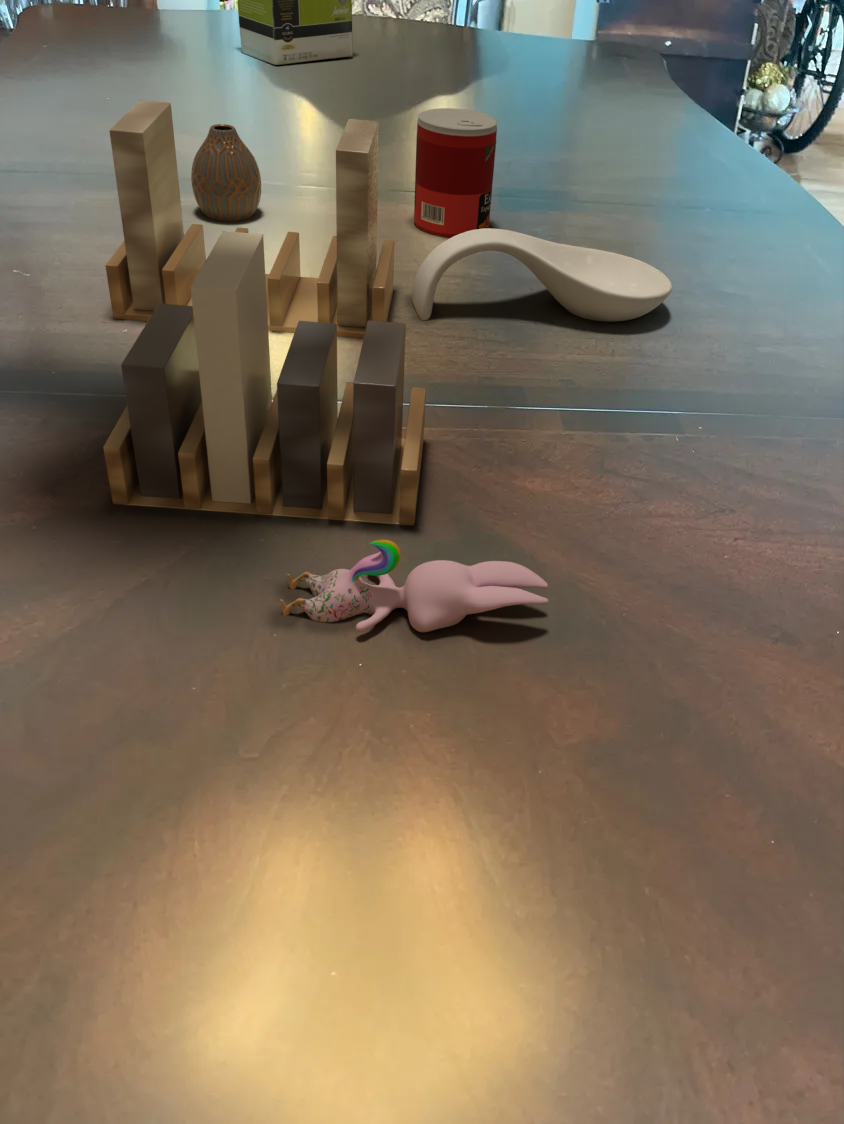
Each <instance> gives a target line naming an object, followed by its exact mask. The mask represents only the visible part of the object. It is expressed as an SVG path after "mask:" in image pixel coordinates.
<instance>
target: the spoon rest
mask: <svg viewBox="0 0 844 1124" xmlns="http://www.w3.org/2000/svg"><path fill="white" fill-rule="evenodd" d="M489 251H490V252H491V251H492V252H500V253H504V254H507V255H510V256H512V257H513V258H515V259H517V260H518V261H519V262H521V263H522V264H523V265H524V266H525V267H527V269H528V270H529V271H530V272H531V273H532V274H533V275H534V276H535V277H536V278H537V280H538V281H539V282H540V283H541V284H542V285H543V286H544V287H545V288H546V290H547V292H549V294H551V296H553V298H554V299H555V301H557V302H558V303H559V304H560V305H561V307H563V308H565V310H566V311H568V312H569V313H570V314H573V315H574V316H576V317H579V318H583V319H586V320H590V321H598V322H605V323H608V322H609V323H614V322H616V323H617V322H625V321H630V320H634V319H637V318H640V317H642V316H645V315H646V314H648V313H650V312H652V311H653V310H654V309H656V308H657V307H658V306H660V305H661V304H662V303H663V302H664V301H665V300H666V299H667V298H668V297H670V294H671V293H672V291H673V286H672V282H671V280H670V279H669V278H668V276H666V275H665V273H664V272H662V271H661V270H659V269H658V268H656V267H655V266H653V265H650V264H649V263H646V262H644V261H642V260H640V259H637V258H633V257H632V256H631V257H630V256H628V255H624V254H620V253H617V252H612V251H608V250H607V251H606V250H601V249H597V248H591V247H584V246H576V245H570V244H565V243H559V242H555V241H550V240H548V239H543V238H540V237H537V236H534V235H530V234H526V233H521V232H518V231H514V230H509V229H502V228H492V227H491V228H490V227H488V228H485V229H476V230H471V231H467V232H464V233H461V234H458V235H456V236H454V237H452V238H451V237H449V238H447V239H446V240H445V241H442V242H441V243H439V244H438V245H437V246H436V247H435V248H434V249H433V250H431V252H429V254H428V255H427V256H426V258H425V259H424V260H423V261H422V263H421V265H420V266H419V268H418V270H417V273H416V275H415V278H414V281H413V284H412V291H411V303H412V304H413V307H414V310H415V313H416V314H417V316H418V318H419V319H420V320H421V321H427V320H428V321H429V319H430V318H431V315H432V311H433V304H434V299H435V294H436V289H437V287H438V284H439V282H440V280H441V279H442V276H443V275H444V274H445V272H447V270H448V269H449V268H450V267H451V266H452V265H454V264H456V263H457V262H458V261H460V260H462V259H464V258H466V257H468V256H471V255H474V254H477V253H482V252H489Z"/></svg>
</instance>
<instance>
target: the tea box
mask: <svg viewBox="0 0 844 1124" xmlns="http://www.w3.org/2000/svg"><path fill="white" fill-rule="evenodd" d="M237 14H238V15H237V16H238V26H239V27H238V28H239V38H240V46H241V47H240V48H241V52H242V53H243V54H244V55H247V56H250V57H252V58H255V59H258V60H260V61H262V62H265V63H268V64H271V65H275V66H279V65H288V64H297V63H304V62H312V61H313V62H314V61H320V60H321V61H322V60H329V59H338V58H339V59H340V58H347V57H353V56H354V44H353V43H354V41H353V40H354V39H353V37H354V36H353V0H237Z"/></svg>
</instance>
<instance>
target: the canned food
mask: <svg viewBox="0 0 844 1124" xmlns="http://www.w3.org/2000/svg"><path fill="white" fill-rule="evenodd" d="M416 123H417V124H416V138H415V139H416V141H415V143H416V144H415V173H414V201H413V203H414V204H413V205H414V208H413V222H414V224H415V227H416V228H418V229H419V230H420V231H422V232H424V233H427V234H430V235H432V236H433V235H434V236H437V237H443V238H452V237H454V236H456V235H458V234H461V233H464V232H467V231H471V230H476V229H485V228H490V218H491V207H492V206H491V205H492V195H493V182H494V171H495V160H496V159H495V158H496V149H497V136H498V135H497V134H498V133H497V132H498V126H497V125H498V122H497V119H496V118H494V117H492V116H491V115H488V114H487V113H483V112H480V111H476V110H470V109H463V108H454V107H453V108H450V107H446V108H445V107H440V108H430V109H426V110H424V111H421V112H420V113H418V116H417V121H416Z"/></svg>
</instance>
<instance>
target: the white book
mask: <svg viewBox="0 0 844 1124" xmlns="http://www.w3.org/2000/svg"><path fill="white" fill-rule="evenodd" d="M264 243H265V241H264V234H262V233H253V232H252V233H250V232H248V233H241V232H235V231H228V230H223V231H222V232H221V234H220V235H219V237H218V239H217V241H216V242H215V244H214V246H213V247H212V249H211V251H210V253H209V254H208V256H207V257H206V261H205V263H204V265H203V266H202V268H201V270H200V272H199V273H198V275H197V277H196V279H195V280H194V282H193V284H192V286H191V296H192V306H193V316H194V326H195V336H196V346H197V356H198V366H199V376H200V386H201V396H202V406H203V416H204V426H205V436H206V446H207V456H208V466H209V476H210V486H211V496H212V501H219V502H233V503H246V504H251V502H252V499H253V496H254V493H255V483H254V469H253V457H254V454H255V451H256V448H257V445H258V442H259V439H260V436H261V434H262V431H263V428H264V425H265V422H266V419H267V416H268V413H269V411H270V408H271V405H272V402H273V392H272V373H271V357H270V353H271V352H270V338H269V337H270V336H269V331H268V316H267V297H266V278H265V274H266V263H265V261H266V260H265V244H264Z"/></svg>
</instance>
